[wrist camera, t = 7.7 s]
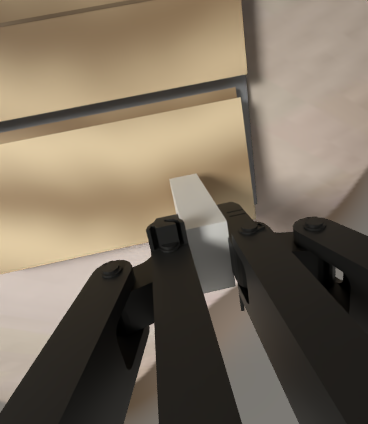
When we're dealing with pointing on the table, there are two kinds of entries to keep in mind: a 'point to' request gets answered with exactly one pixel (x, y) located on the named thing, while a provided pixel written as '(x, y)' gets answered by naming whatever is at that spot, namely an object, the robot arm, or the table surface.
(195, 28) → the floor board
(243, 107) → the underlay mat
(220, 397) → the robot arm
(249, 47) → the table surface
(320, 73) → the table surface
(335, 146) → the table surface
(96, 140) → the board
